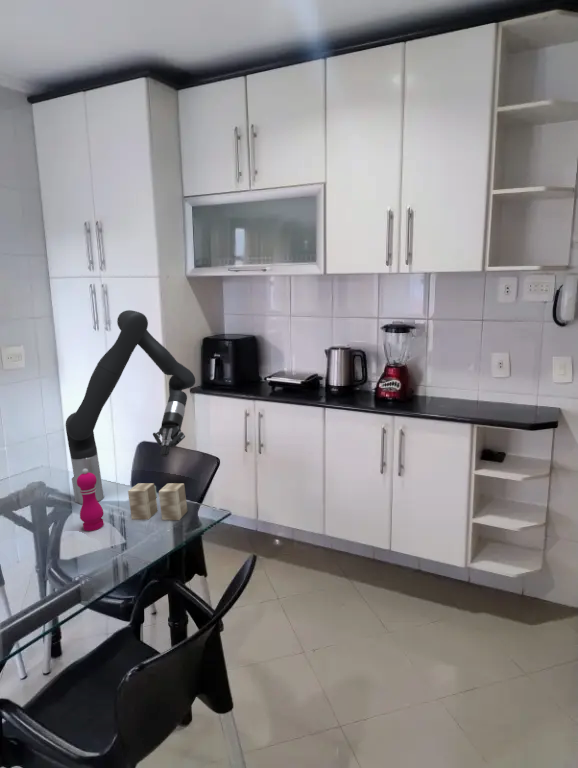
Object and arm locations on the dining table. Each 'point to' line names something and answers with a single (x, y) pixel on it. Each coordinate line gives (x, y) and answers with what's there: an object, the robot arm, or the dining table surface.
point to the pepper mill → (89, 502)
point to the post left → (142, 501)
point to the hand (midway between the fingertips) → (163, 456)
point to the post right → (173, 501)
